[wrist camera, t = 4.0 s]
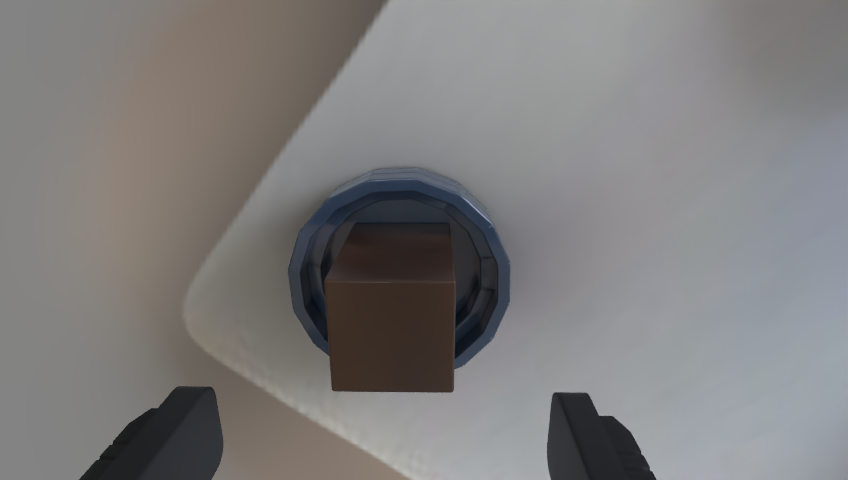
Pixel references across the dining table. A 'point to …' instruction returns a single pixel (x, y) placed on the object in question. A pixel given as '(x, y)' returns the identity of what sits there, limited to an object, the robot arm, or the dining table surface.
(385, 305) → the block
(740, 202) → the dining table surface
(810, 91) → the dining table surface
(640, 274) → the dining table surface
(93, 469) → the robot arm
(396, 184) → the slate dish
